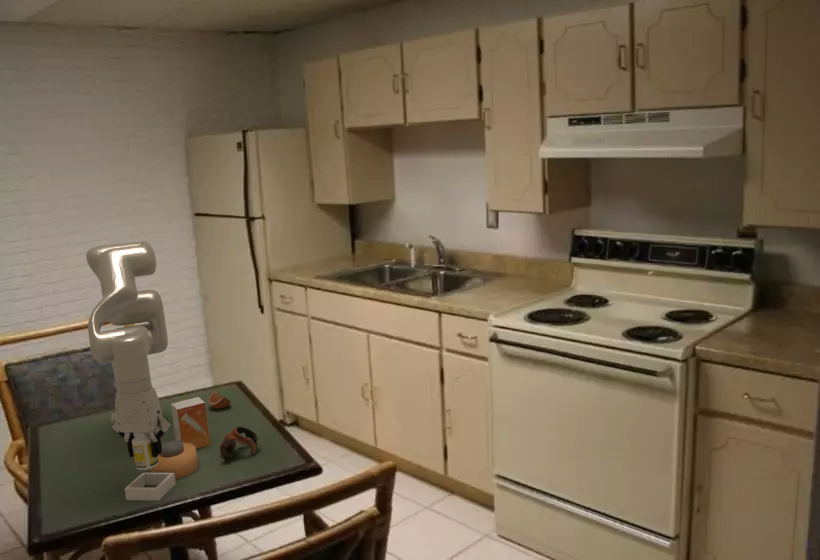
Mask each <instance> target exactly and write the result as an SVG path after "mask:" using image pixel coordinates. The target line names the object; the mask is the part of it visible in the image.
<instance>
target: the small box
mask: <svg viewBox="0 0 820 560" xmlns="http://www.w3.org/2000/svg"><path fill="white" fill-rule="evenodd" d="M170 407H171V414H172V415H171V416H172V422H173V423H172V424H173V431H174V436H175V440H178V441H182V442H183V443H190V444H193V445H195V447H196V450H197V449H201V448H205V447H209V446H211V439H210V438H211V437H210V431H209V430H210V429H209V422H208V415H207V409H206V407H207V406H206V402H205V401H204V400H203V399H202V398H201V397H199V396H197V397H193V398H187V399H184V400H181V401H177V402H173V403H170Z"/></svg>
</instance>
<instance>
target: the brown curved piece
mask: <svg viewBox="0 0 820 560" xmlns="http://www.w3.org/2000/svg"><path fill="white" fill-rule="evenodd" d="M242 434H245V436H244V435H242ZM258 440H259V436H258V435H257V434H256V433H255V432H254V431H253V430H251V429H249V428H247V427H244V426H234V428H233V429H232V430H231V431H229V432H228V433H227V434H226V435H224V438H223V441H222V443H221V444H220V446H219V452H220V457H221V458H222V459H226V458H227V459H229V458H230V459H231V458H233V454H234V451H235V449H236V446H237V443H238V444H241V445H243V446H244V445H245V446H248V447H251V448H250V449H251V450H250V453H249V454H250V455H251V456H253V454H254V455H255V453H256V451H257V449H258Z"/></svg>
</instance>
